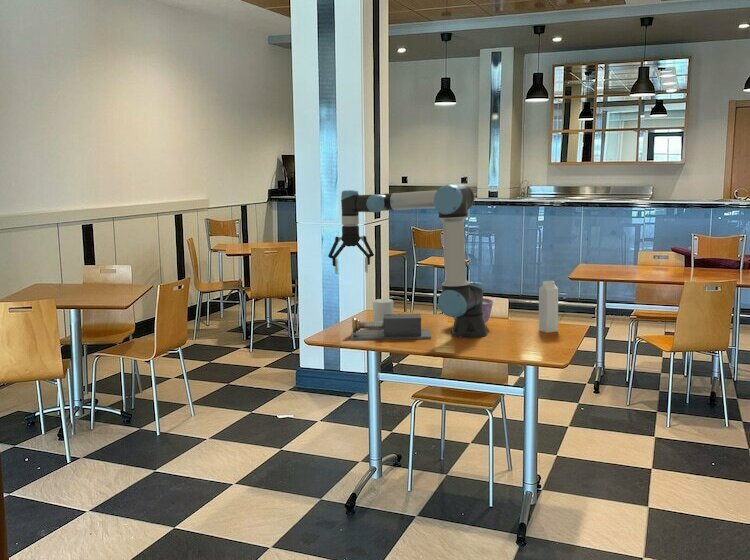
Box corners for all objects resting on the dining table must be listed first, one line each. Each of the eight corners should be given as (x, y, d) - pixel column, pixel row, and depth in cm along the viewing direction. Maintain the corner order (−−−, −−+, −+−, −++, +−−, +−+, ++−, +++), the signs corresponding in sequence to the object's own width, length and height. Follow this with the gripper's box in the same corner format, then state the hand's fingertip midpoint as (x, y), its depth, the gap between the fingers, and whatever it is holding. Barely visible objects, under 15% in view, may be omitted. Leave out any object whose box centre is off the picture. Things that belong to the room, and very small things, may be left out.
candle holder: (394, 328, 334) (393, 302, 332) (372, 328, 334) (371, 302, 332) (393, 323, 343) (393, 298, 342) (373, 324, 344) (372, 299, 342)
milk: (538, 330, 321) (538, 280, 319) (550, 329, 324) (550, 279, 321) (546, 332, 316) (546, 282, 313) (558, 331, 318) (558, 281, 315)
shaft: (352, 334, 315) (352, 319, 314) (353, 331, 322) (353, 316, 321) (402, 333, 315) (402, 318, 314) (402, 330, 321) (402, 315, 320)
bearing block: (350, 340, 311) (350, 320, 310) (353, 332, 327) (352, 313, 326) (430, 338, 310) (430, 319, 308) (429, 331, 325) (429, 312, 324)
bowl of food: (490, 321, 344) (490, 297, 342) (496, 330, 324) (496, 304, 322) (447, 322, 344) (447, 298, 343) (451, 331, 325) (450, 305, 323)
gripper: (376, 223, 330) (377, 270, 333) (321, 225, 325) (322, 273, 328) (379, 225, 322) (380, 272, 325) (323, 226, 318) (324, 275, 321)
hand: (351, 272), depth 327 cm, fingers open, 13 cm apart
